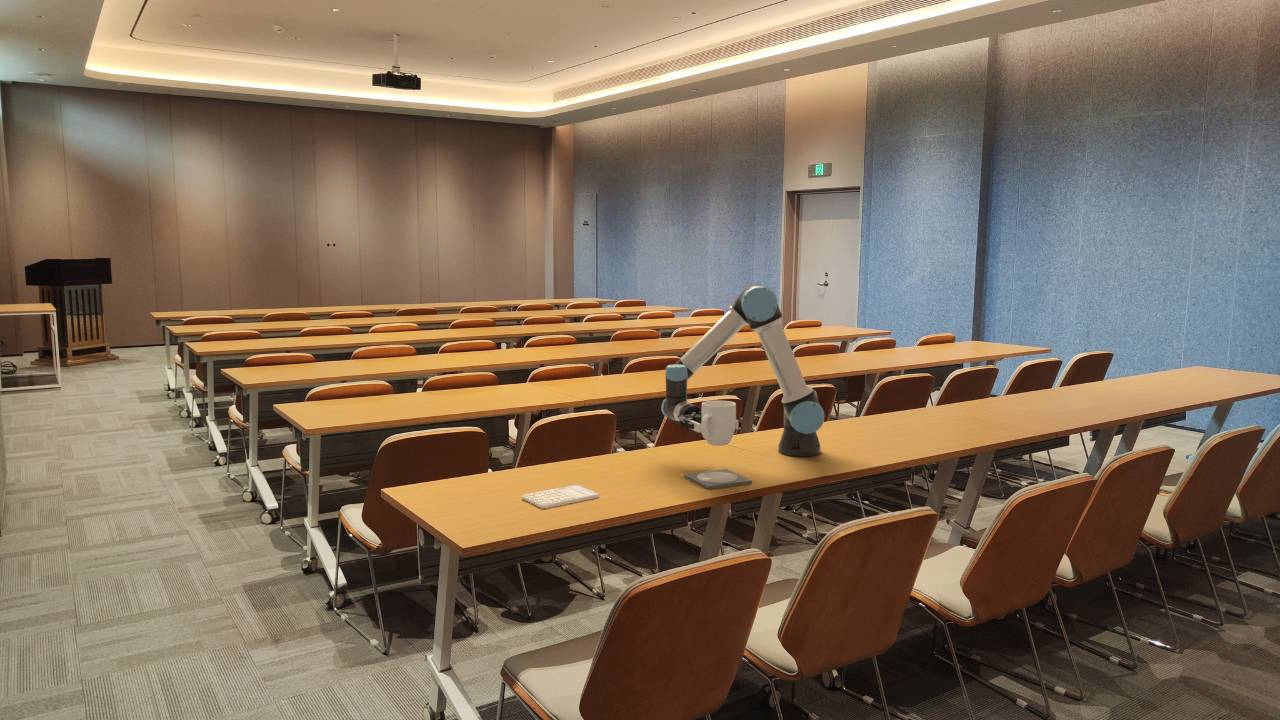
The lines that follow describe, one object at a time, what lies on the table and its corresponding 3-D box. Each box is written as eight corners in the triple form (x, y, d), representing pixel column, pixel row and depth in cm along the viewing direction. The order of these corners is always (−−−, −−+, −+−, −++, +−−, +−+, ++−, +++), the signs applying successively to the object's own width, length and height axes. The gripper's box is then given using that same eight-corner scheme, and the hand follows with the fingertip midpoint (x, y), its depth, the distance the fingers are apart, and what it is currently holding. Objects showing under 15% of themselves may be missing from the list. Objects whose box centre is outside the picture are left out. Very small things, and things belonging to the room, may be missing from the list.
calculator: (520, 500, 258) (520, 494, 258) (577, 488, 270) (576, 483, 269) (542, 511, 247) (542, 504, 247) (600, 498, 259) (600, 492, 259)
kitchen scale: (726, 471, 287) (726, 468, 287) (751, 483, 273) (751, 479, 273) (683, 477, 281) (683, 473, 281) (707, 489, 266) (707, 485, 266)
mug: (717, 451, 265) (718, 409, 263) (687, 446, 271) (688, 405, 270) (742, 442, 277) (742, 402, 275) (712, 438, 283) (713, 399, 282)
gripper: (720, 422, 298) (752, 434, 278) (655, 428, 288) (683, 441, 269) (721, 401, 297) (752, 411, 277) (655, 406, 287) (683, 418, 268)
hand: (718, 426), depth 273 cm, fingers closed on mug, 13 cm apart
